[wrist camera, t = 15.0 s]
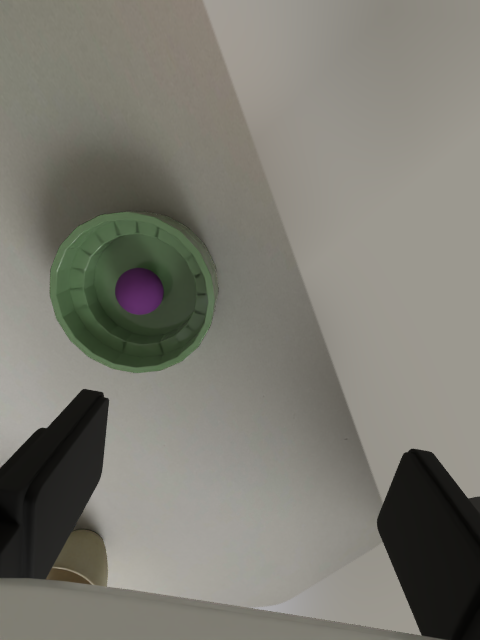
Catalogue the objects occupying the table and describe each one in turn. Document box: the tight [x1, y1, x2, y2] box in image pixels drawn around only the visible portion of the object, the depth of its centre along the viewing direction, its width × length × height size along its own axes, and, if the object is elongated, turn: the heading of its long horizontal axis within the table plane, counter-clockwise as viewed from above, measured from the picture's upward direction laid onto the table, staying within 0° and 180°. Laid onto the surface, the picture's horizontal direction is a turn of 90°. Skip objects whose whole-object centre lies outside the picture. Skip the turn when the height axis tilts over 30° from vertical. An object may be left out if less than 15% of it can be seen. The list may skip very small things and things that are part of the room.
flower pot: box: [46, 529, 108, 587], centre depth 43 cm, size 10×10×7 cm
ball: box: [115, 268, 164, 315], centre depth 33 cm, size 4×4×4 cm
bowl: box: [50, 211, 219, 373], centre depth 33 cm, size 14×14×6 cm
